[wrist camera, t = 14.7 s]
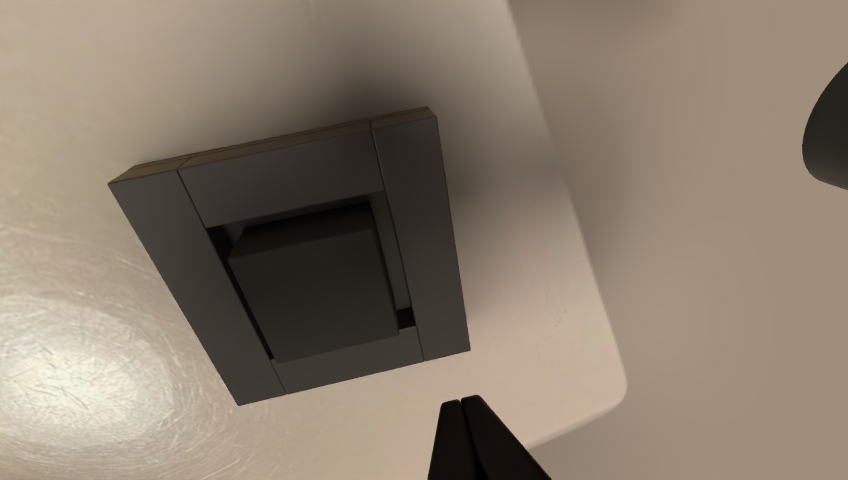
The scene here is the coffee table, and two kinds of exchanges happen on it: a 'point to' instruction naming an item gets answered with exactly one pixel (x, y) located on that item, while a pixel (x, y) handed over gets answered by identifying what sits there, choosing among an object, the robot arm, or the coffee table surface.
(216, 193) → the base pad
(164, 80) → the coffee table surface
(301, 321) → the black angular block
